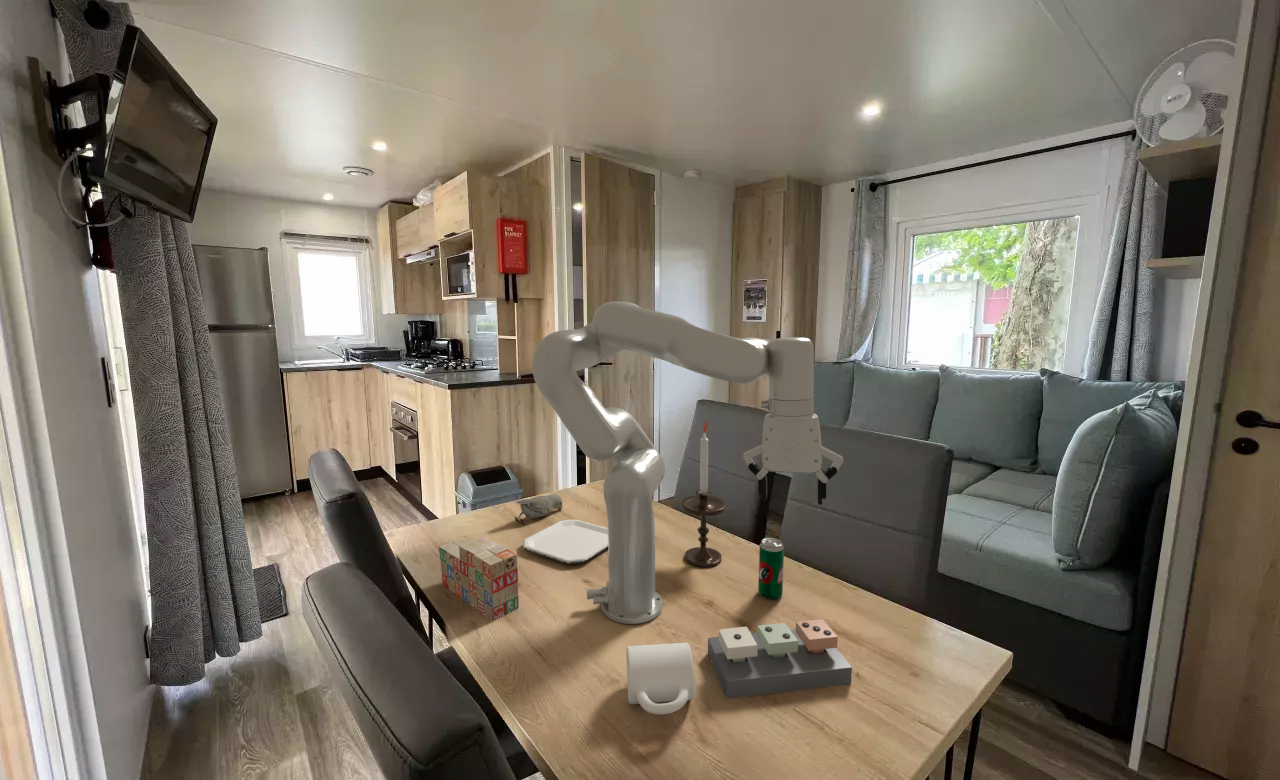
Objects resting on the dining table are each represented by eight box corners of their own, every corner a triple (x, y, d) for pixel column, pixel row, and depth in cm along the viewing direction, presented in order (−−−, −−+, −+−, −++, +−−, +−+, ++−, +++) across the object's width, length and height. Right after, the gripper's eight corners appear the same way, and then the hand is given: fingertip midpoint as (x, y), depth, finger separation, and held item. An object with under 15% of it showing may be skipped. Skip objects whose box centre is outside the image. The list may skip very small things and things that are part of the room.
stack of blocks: (441, 585, 115) (437, 533, 113) (466, 574, 120) (463, 524, 118) (493, 622, 101) (490, 564, 99) (520, 609, 105) (517, 553, 104)
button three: (808, 667, 85) (809, 638, 84) (795, 647, 90) (796, 620, 89) (836, 663, 86) (837, 635, 85) (821, 645, 91) (822, 618, 90)
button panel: (727, 698, 80) (727, 681, 80) (707, 653, 91) (708, 637, 91) (851, 684, 83) (852, 667, 83) (818, 641, 94) (819, 626, 93)
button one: (727, 676, 83) (727, 647, 82) (718, 655, 88) (718, 628, 87) (756, 672, 84) (757, 644, 83) (746, 653, 89) (746, 625, 88)
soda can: (783, 602, 107) (785, 548, 105) (758, 599, 108) (759, 546, 106) (781, 589, 112) (783, 537, 110) (757, 587, 113) (759, 536, 111)
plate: (626, 540, 137) (626, 532, 137) (577, 573, 120) (577, 564, 120) (567, 523, 148) (567, 516, 148) (515, 551, 131) (514, 543, 131)
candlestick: (712, 546, 133) (714, 414, 128) (733, 565, 123) (736, 423, 117) (674, 552, 129) (674, 417, 124) (691, 572, 119) (693, 426, 114)
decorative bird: (566, 512, 156) (566, 489, 155) (522, 528, 145) (521, 503, 144) (556, 508, 160) (555, 485, 159) (511, 523, 148) (510, 499, 147)
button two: (768, 671, 84) (769, 643, 83) (757, 651, 89) (757, 624, 88) (796, 668, 85) (798, 640, 84) (784, 648, 90) (785, 622, 89)
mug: (626, 679, 85) (626, 635, 84) (685, 675, 86) (686, 632, 84) (631, 738, 73) (630, 688, 72) (700, 733, 74) (700, 683, 73)
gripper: (739, 410, 90) (741, 504, 92) (845, 412, 84) (844, 511, 86) (744, 403, 97) (746, 490, 99) (842, 404, 91) (841, 496, 93)
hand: (791, 500), depth 93 cm, fingers open, 9 cm apart
